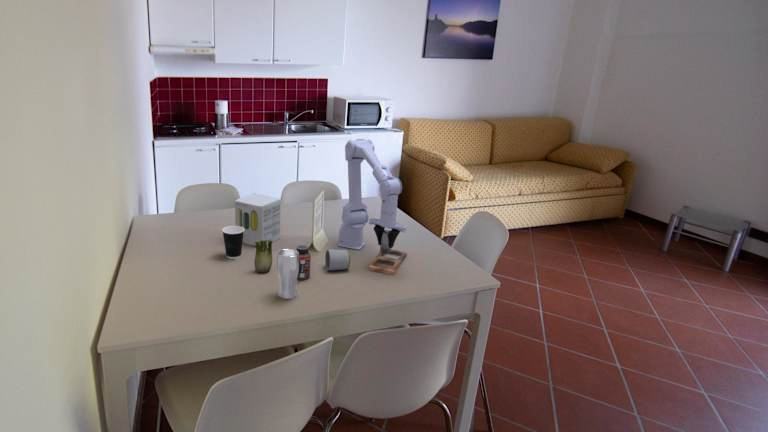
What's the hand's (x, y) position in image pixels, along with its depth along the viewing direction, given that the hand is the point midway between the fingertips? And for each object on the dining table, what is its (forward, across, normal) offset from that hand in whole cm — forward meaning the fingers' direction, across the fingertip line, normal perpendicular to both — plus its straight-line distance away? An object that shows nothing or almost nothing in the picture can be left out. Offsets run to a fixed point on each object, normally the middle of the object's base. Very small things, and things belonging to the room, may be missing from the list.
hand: (385, 245), depth 184 cm
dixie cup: (+9, +50, +26) cm, 57 cm away
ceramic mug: (+9, +15, +11) cm, 20 cm away
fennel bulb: (+9, +34, +29) cm, 45 cm away
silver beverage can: (+9, +16, +38) cm, 42 cm away
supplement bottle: (+9, +20, +25) cm, 33 cm away
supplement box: (+9, +54, +7) cm, 56 cm away
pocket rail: (+9, +1, -5) cm, 10 cm away
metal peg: (+2, 0, 0) cm, 2 cm away
